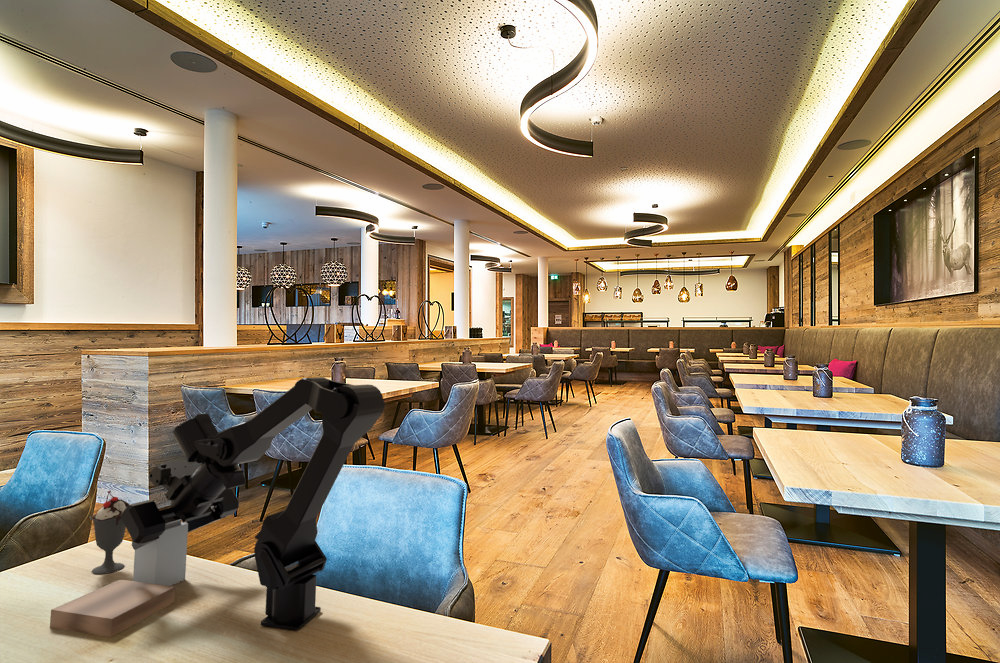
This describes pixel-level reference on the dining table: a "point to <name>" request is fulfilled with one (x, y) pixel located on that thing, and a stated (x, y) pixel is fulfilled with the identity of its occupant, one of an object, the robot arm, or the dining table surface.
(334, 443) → the robot arm
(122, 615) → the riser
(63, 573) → the dining table surface
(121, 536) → the sundae
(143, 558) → the grey rectangular block
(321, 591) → the dining table surface
